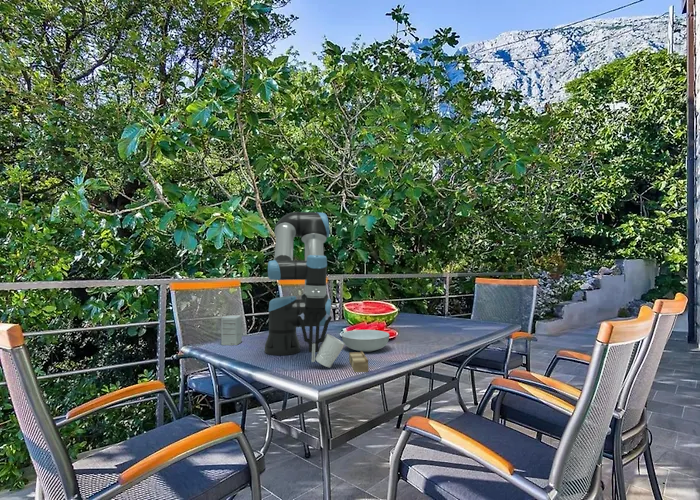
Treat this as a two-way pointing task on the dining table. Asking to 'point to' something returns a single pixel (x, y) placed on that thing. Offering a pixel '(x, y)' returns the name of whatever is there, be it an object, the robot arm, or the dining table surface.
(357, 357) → the brass metal channel
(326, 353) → the white cup
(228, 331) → the supplement box
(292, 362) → the dining table surface
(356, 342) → the serving bowl
